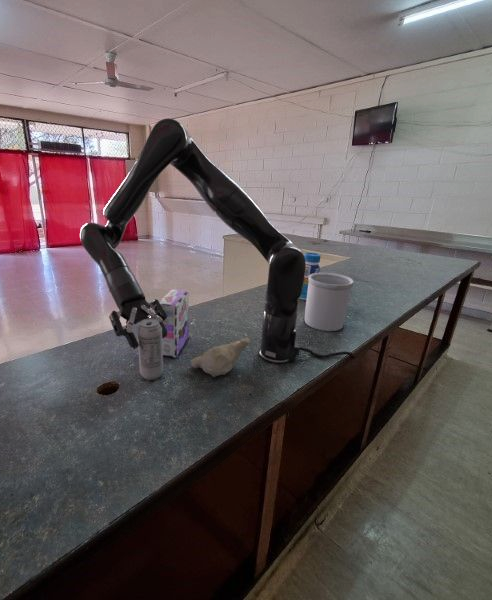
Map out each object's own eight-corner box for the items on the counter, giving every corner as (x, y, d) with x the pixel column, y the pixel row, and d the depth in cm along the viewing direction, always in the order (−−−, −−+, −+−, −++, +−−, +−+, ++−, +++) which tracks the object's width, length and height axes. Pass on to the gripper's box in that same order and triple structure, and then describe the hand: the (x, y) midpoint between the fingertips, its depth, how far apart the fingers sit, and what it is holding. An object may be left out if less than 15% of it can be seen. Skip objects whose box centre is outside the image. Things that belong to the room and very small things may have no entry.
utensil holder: (337, 336, 107) (347, 287, 101) (296, 324, 116) (302, 278, 109) (349, 322, 118) (358, 277, 112) (310, 312, 127) (317, 270, 120)
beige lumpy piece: (191, 390, 81) (237, 367, 74) (180, 363, 83) (224, 338, 76) (220, 378, 94) (261, 358, 87) (210, 355, 96) (250, 334, 89)
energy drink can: (165, 368, 86) (164, 318, 81) (160, 381, 80) (158, 328, 75) (144, 367, 86) (141, 316, 81) (137, 379, 81) (133, 326, 76)
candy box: (176, 358, 91) (176, 305, 85) (157, 356, 92) (155, 303, 86) (189, 337, 104) (189, 289, 98) (171, 335, 105) (171, 288, 99)
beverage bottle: (293, 294, 147) (299, 252, 140) (311, 294, 148) (317, 252, 141) (300, 301, 139) (307, 256, 132) (319, 300, 140) (326, 256, 133)
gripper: (103, 286, 76) (131, 345, 72) (152, 275, 85) (179, 328, 82) (95, 300, 81) (121, 357, 78) (142, 289, 91) (167, 339, 87)
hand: (151, 342), depth 80 cm, fingers open, 8 cm apart
